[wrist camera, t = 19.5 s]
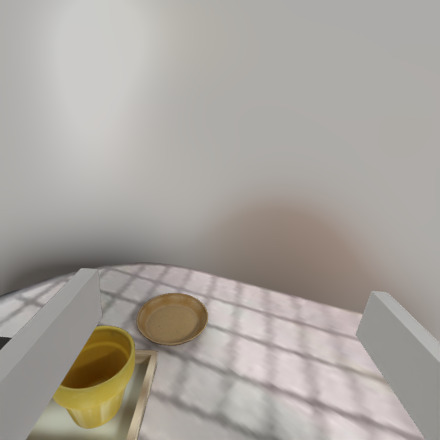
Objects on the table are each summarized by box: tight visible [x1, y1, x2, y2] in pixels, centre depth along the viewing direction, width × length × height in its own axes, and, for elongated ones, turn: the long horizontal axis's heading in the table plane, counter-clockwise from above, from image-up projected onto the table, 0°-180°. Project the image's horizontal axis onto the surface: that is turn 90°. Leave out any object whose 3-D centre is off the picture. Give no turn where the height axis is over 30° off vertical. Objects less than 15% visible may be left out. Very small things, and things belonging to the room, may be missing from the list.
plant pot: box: [53, 326, 135, 429], centre depth 34 cm, size 10×10×10 cm
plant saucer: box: [137, 293, 208, 346], centre depth 52 cm, size 15×15×3 cm
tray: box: [26, 350, 157, 440], centre depth 36 cm, size 15×15×3 cm
